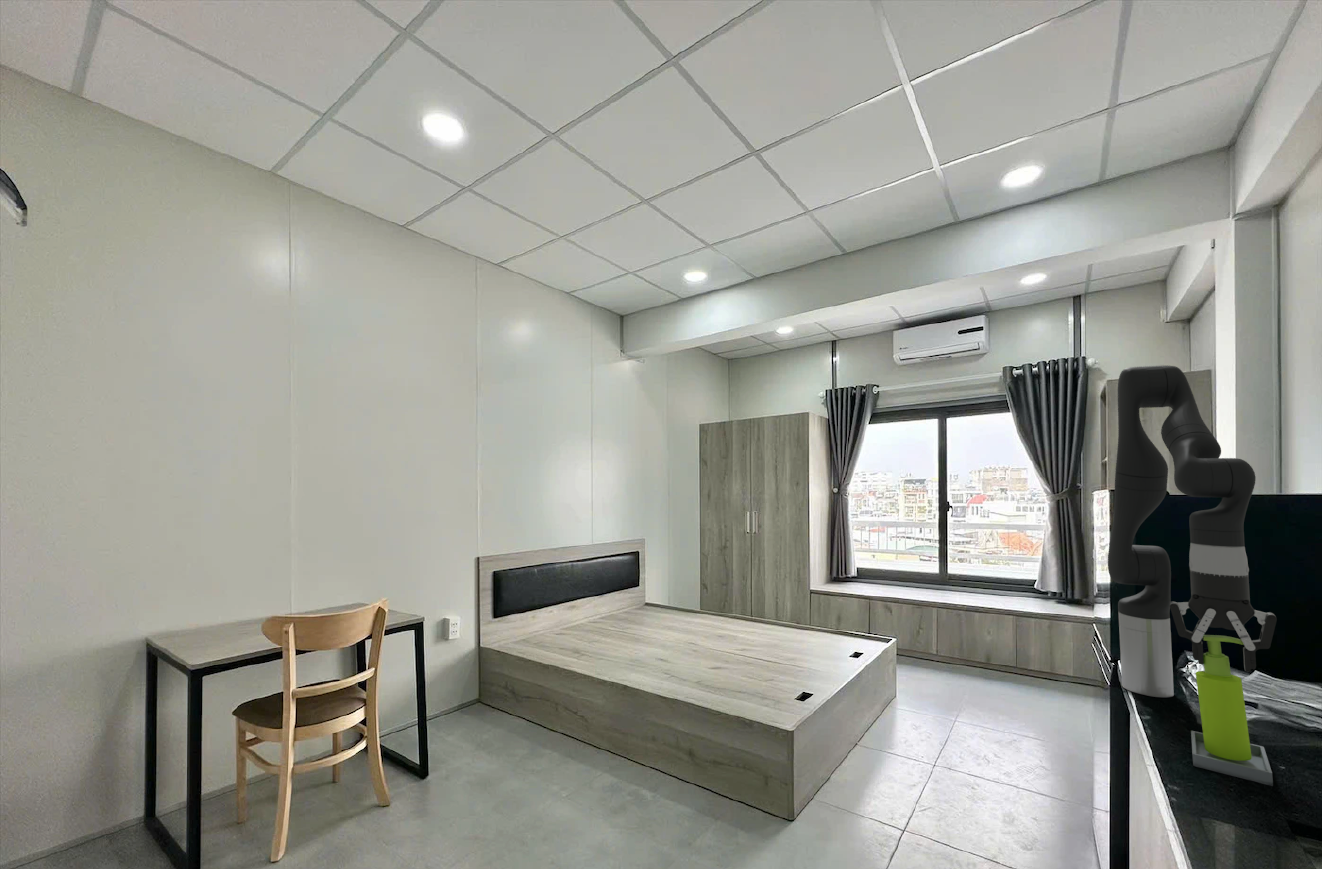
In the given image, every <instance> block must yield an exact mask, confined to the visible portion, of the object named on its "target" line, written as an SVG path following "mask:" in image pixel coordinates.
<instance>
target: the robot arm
mask: <svg viewBox="0 0 1322 869" xmlns="http://www.w3.org/2000/svg"><path fill="white" fill-rule="evenodd" d="M1167 407H1169V408H1171V409H1172V410H1171V411H1170V412H1169V413H1168V415H1167V417H1166V418H1165V419H1164V421H1163V423H1162V425H1161V430H1160V431H1161V432H1160V433H1161V434H1160V435H1161V439H1162V442H1163V443H1164V445H1165V447H1166V448H1167V450H1168V452H1169V453H1170V455H1171V457H1172V462H1173V466H1174V467H1173V469H1174V471H1173V472H1174V473H1173V475H1174V476H1173V480H1174V485H1175V487H1176V489H1177V490H1178V491H1180V492H1181V493H1182V494H1183V495H1186V496H1187V497H1193V498H1221V500H1220V502H1219V504H1218V505H1217V506H1216V507H1213V508H1209V509H1204V510H1198V511H1194V512H1191V514H1190V515H1189V518H1188V519H1189V523H1188V524H1189V538H1190V544H1189V545H1190V546H1189V554H1188V555H1189V556H1188V557H1189V558H1188V560H1189V563H1188V567H1189V578H1190V599H1189V600H1188V601H1183V602H1176V601H1171V600H1172V598H1171V597H1172V596H1171V585H1172V583H1171V582H1172V571H1171V570H1172V567H1171V560H1170V557H1169V554H1168V552H1167V551H1166V550H1165V549H1164V548H1163V547H1161V546H1158V545H1143V544H1142V545H1140V544H1133V543H1134V541H1135V540H1134V539H1135V537H1136V534H1137V532H1138V530H1139V528H1140V526H1141V525H1142V524H1143V523H1144V522H1145V520H1146V519H1148V517H1149V516H1150V515H1151V514H1153V512H1154V511H1155V510H1156V509H1158V507H1159V506H1160V504H1162V502H1163V500H1164V499H1165V497H1166V495H1167V491H1168V478H1169V474H1168V473H1169V466H1168V463H1167V461H1166V459H1165V458H1164V456H1163V454H1162V453H1161V452H1160V451H1159V449H1158V447H1156V445H1155V444H1154V443H1153V441H1152V440H1151V439H1150V437H1149V436H1148V435H1147V433H1146V431H1145V430H1144V427H1143V425H1142V421H1141V418H1140V417H1141V416H1140V409H1141V408H1142V409H1145V408H1147V409H1149V408H1151V409H1152V408H1167ZM1117 420H1118V422H1117V425H1118V427H1117V428H1118V433H1117V434H1118V435H1117V436H1118V438H1117V448H1116V449H1117V451H1116V460H1115V461H1116V463H1115V471H1114V472H1115V474H1114V501H1113V502H1114V505H1113V506H1114V507H1113V519H1112V520H1113V521H1112V528H1111V532H1110V539H1109V546H1108V554H1107V569H1108V573H1109V574H1108V575H1109V577H1110V579H1111V580H1112V581H1113V582H1115V583H1116V584H1122V585H1132V586H1144V589H1143V590H1142V591H1140V592H1138V593H1137V594H1134V595H1131V596H1126V597H1123V598H1120V599H1119V601H1118V602H1117V611H1118V627H1119V648H1120V650H1119V651H1120V652H1119V653H1120V654H1119V655H1120V671H1121V672H1120V673H1121V674H1120V675H1121V686H1122V687H1123V688H1124V689H1126V690H1127V691H1130V692H1132V693H1135V694H1139V695H1144V696H1148V697H1153V698H1154V697H1155V698H1172V697H1174V695H1175V693H1174V672H1173V652H1172V632H1171V617H1170V613H1171V615H1172V619H1173V622H1174V624H1175V628H1176V631H1177V634H1178V636H1179V637H1181V638H1185V639H1188V640H1189V641H1191V647H1192V648H1191V650H1192V651H1191V652H1192V658H1193V660H1194V661H1197V662H1198V663H1197V664H1199V665H1203V666H1204V660H1203V654H1204V647H1203V646H1204V645H1203V641H1202V640H1203V638H1202V637H1203V635H1206V632H1207V631H1208V629H1209V628H1214V629H1217V628H1219V629H1221V628H1222V629H1225V630H1228V631H1236V633H1237V635H1238V637H1239V639H1241V640H1242V642H1243V646H1244V647H1242V652H1243V654H1242V655H1243V656H1242V657H1243V668H1244V672H1247V673H1252V670H1255V669H1256V668H1257V657H1256V652H1257V651H1258V650H1269V649H1270V648H1271V646H1272V645H1271V644H1272V641H1273V636H1274V633H1275V629H1276V626H1277V622H1278V621H1277V620H1278V618H1277V616H1276V615H1275V613H1273V612H1271V611H1269V612H1264V611H1261V610H1256V609H1255V608H1254V607H1253V606H1252V604H1251V598H1250V597H1251V596H1250V594H1251V593H1250V583H1249V582H1250V579H1249V572H1250V568H1249V564H1248V556H1247V553H1246V547H1245V545H1246V544H1245V531H1244V530H1245V528H1244V525H1245V524H1244V522H1245V518H1246V513H1247V510H1248V507H1249V502H1250V499H1251V497H1252V495H1253V492H1254V490H1255V485H1256V474H1255V470H1254V469H1253V466H1252V465H1251V464H1249V462H1247V461H1246V460H1244V459H1241V458H1235V457H1229V458H1228V457H1224V458H1223V457H1222V458H1221V457H1220V456H1221V455H1222V448H1221V445H1220V443H1219V442H1218V440H1217V438H1216V437H1215V436H1214V434H1213V433H1212V432H1211V431H1210V429H1209V427H1208V426H1207V425H1206V423H1205V421H1204V420H1203V418H1202V416H1201V413H1200V412H1199V408H1198V405H1197V402H1196V398H1195V396H1194V394H1193V391H1192V388H1191V386H1190V383H1189V381H1188V379H1187V377H1186V375H1185V373H1184V372H1183V371H1182V370H1181V368H1179V367H1178V366H1175V365H1169V364H1168V365H1164V364H1163V365H1149V366H1148V365H1147V366H1146V365H1143V366H1129V367H1125V368H1124V369H1122V370H1121V372H1120V374H1119V376H1118V380H1117ZM1188 609H1190V611H1192V612H1193V614H1195V616H1196V617H1197V618H1198V621H1197V623H1196V624H1195V627H1194V628H1193V631H1191V630H1188V629H1187V627H1186V625H1185V621H1184V617H1183V616H1184V615H1186V613H1187V610H1188ZM1170 611H1171V612H1170ZM1253 617H1256V618H1257V622H1258V624H1260V625H1261V629H1260V634H1259V638H1258V639H1253V640H1252V638H1251V637H1250V634H1249V633H1248V632H1247V629H1246V628H1245V624H1247V622H1248V621H1250V619H1252V618H1253Z"/></svg>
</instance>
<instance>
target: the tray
mask: <svg viewBox="0 0 1322 869" xmlns="http://www.w3.org/2000/svg"><path fill="white" fill-rule="evenodd" d="M1190 734H1191V735H1190V737H1191V752H1192V766H1193V767H1196V768H1201V769H1205V770H1207V771H1208V770H1209V771H1212V772H1216V773H1219V774H1224V775H1228V776H1232V777H1235V778H1236V777H1237V778H1240V779H1242V780H1247V781H1251V782H1255V783H1259V784H1263V785H1267V786H1271V787H1274V780H1273V771H1272V769H1271V765H1270V761H1269V758H1268V756H1267V753H1266V749H1265V747H1264V746H1262V745H1258V744H1253V743H1250V749H1251V757H1252V758H1251V759H1250V760H1247V761H1238V760H1231V759H1226V758H1222V757H1219V756H1216V755H1213V754H1211V753H1209V752H1208V751H1206V750H1205V745H1204V737H1203V732H1199V731H1194V730H1190Z"/></svg>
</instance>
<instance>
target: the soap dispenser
mask: <svg viewBox="0 0 1322 869" xmlns="http://www.w3.org/2000/svg"><path fill="white" fill-rule="evenodd" d="M1202 640H1203V641H1204V642H1205V641H1206V644H1207V649H1208V651H1206V652H1203V660H1204V665H1203V669H1204V670H1198V671H1196V672H1195V678H1196V679H1195V680H1196V687H1197V695H1198V704H1199V711H1200V720H1201V727H1202V733H1203V737H1204V745H1205V750H1206V751H1208V752H1209V753H1211V754H1213V755H1216V756H1219V757H1222V758H1226V759H1231V760H1238V761H1247V760H1250V759H1251V758H1252V757H1251V749H1250V744H1251V742H1250V735H1249V727H1248V718H1247V713H1246V712H1247V711H1246V706H1245V705H1246V703H1245V697H1244V689H1243V688H1244V687H1243V682H1242V678H1241V677H1239V676H1238V675H1234V674H1232V673H1231V672H1232V671H1231V666H1230V657H1229V656H1228V655H1225V654H1224V653H1222V646H1221V645H1222V643H1221V642H1225V643H1234V644H1239V645H1243V646H1244V644H1243V642H1242V640H1241V638H1237V637H1232V636H1227V635H1219V634H1218V635H1217V634H1215V635H1214V634H1204V635H1203V637H1202Z"/></svg>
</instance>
